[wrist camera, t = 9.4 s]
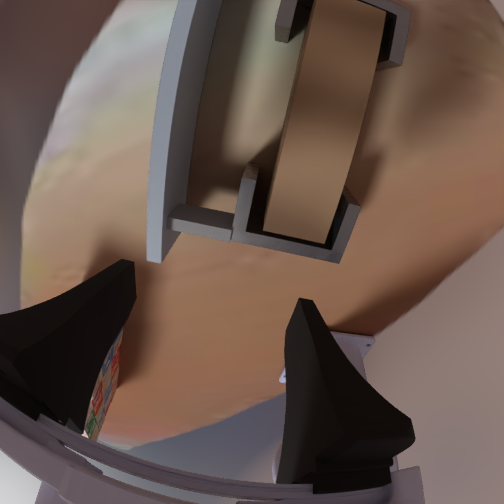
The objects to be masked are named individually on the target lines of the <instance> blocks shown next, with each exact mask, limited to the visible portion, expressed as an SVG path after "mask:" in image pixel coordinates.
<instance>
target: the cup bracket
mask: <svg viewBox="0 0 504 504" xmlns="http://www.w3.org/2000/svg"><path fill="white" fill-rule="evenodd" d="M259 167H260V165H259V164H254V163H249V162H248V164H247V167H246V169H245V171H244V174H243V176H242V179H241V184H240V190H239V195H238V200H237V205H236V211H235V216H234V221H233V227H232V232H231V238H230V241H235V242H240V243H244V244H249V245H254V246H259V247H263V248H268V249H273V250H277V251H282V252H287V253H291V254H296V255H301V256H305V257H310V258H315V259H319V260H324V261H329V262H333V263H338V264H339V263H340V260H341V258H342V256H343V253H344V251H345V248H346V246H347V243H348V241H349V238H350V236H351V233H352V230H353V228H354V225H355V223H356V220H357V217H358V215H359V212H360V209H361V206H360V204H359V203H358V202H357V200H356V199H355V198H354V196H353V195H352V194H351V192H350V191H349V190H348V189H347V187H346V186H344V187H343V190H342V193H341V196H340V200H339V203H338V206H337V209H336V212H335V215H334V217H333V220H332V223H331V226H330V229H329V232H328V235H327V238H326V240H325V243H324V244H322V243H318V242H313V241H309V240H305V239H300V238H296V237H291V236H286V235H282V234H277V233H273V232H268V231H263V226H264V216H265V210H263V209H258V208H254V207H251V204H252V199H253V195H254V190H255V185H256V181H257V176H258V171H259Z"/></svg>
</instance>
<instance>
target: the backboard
mask: <svg viewBox="0 0 504 504" xmlns="http://www.w3.org/2000/svg"><path fill="white" fill-rule="evenodd" d="M222 1H223V0H178V4H177V7H176V11H175V14H174V18H173V22H172V26H171V30H170V34H169V39H168V43H167V48H166V52H165V57H164V62H163V67H162V72H161V78H160V84H159V90H158V96H157V103H156V110H155V117H154V125H153V134H152V144H151V154H150V167H149V181H148V201H147V261H151V262H156V263H160V264H161V263H162V262H163V260H164V258H165V257H166V255H167V254H168V252H169V250H170V249H171V247H172V246H173V244H174V242H175V241H176V239H177V238H178V236H179V235H180V233H181V232H184V233H189V234H193V235H198V236H203V237H208V238H213V239H217V240H222V241H227V242H230V238H231V232H232V227H233V221H234V216H235V214H233V213H228V212H223V211H218V210H213V209H208V208H203V207H198V206H193V205H187V204H186V196H187V187H188V178H189V170H190V163H191V155H192V148H193V141H194V135H195V128H196V122H197V116H198V110H199V104H200V99H201V93H202V88H203V83H204V78H205V73H206V68H207V63H208V58H209V54H210V49H211V45H212V41H213V36H214V32H215V28H216V24H217V20H218V16H219V12H220V9H221V5H222Z"/></svg>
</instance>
